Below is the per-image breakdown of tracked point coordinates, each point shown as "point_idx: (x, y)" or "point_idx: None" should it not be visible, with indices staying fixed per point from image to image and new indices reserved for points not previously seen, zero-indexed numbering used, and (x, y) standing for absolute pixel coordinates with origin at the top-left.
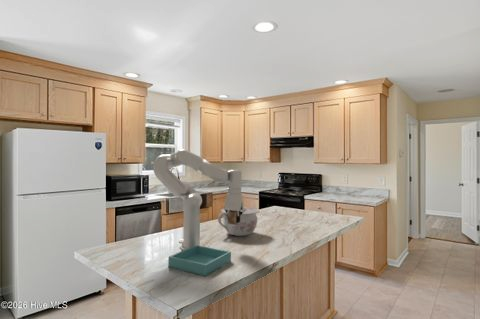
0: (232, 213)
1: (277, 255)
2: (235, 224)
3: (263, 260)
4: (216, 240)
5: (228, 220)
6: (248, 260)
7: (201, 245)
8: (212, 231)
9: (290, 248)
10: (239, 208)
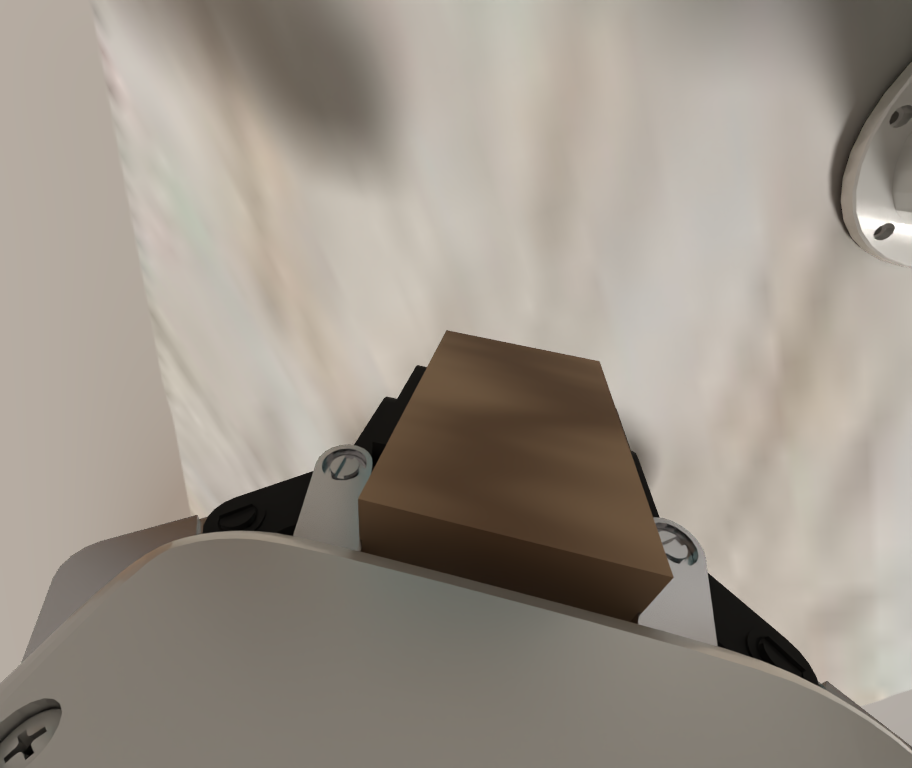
0: (493, 488)
1: (188, 260)
2: (445, 332)
3: (188, 89)
4: (706, 443)
5: (599, 390)
6: (279, 15)
7: (865, 220)
8: (766, 598)
9: (212, 409)
10: (54, 633)
